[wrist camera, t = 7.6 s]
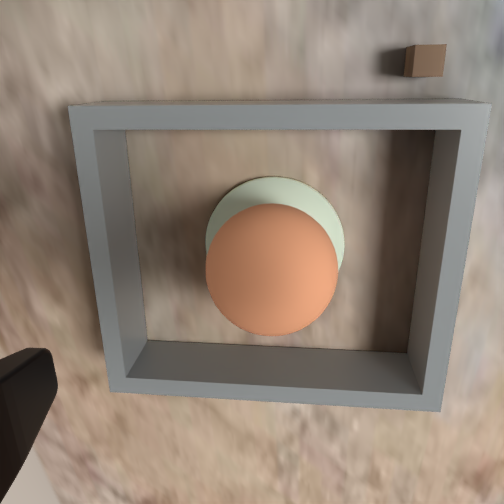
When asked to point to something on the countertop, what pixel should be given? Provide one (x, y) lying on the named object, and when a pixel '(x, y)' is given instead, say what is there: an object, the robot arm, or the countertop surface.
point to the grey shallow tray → (307, 200)
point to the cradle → (425, 60)
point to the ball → (271, 269)
